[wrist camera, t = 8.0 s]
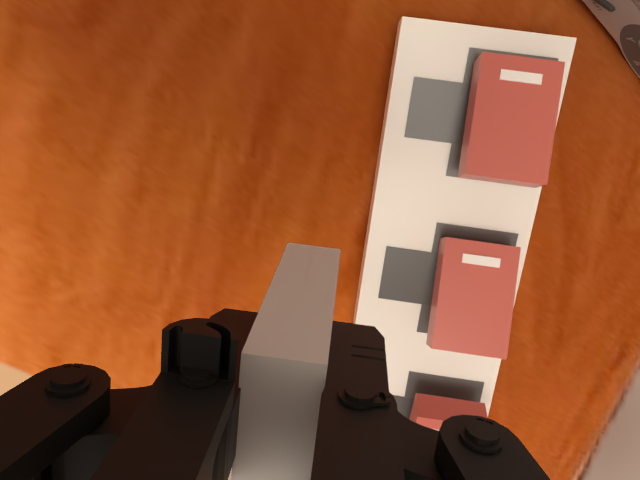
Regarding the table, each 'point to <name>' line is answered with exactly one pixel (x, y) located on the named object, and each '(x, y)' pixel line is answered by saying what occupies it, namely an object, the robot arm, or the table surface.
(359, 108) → the table surface
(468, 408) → the rocker
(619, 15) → the grey rounded slab
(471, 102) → the block
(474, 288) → the block
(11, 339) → the table surface
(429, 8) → the table surface
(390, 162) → the rocker switch panel
